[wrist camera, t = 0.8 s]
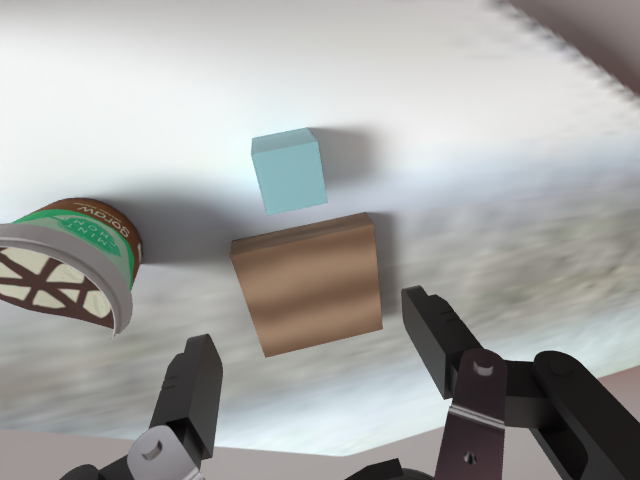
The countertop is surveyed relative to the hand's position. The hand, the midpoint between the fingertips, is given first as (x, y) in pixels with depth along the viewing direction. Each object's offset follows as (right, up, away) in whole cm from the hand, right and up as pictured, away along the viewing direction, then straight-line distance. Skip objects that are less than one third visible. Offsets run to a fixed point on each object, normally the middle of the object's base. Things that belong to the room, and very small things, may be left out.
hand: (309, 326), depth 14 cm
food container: (-20, +6, +17) cm, 27 cm away
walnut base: (-1, -1, +24) cm, 24 cm away
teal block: (-3, +11, +17) cm, 21 cm away
